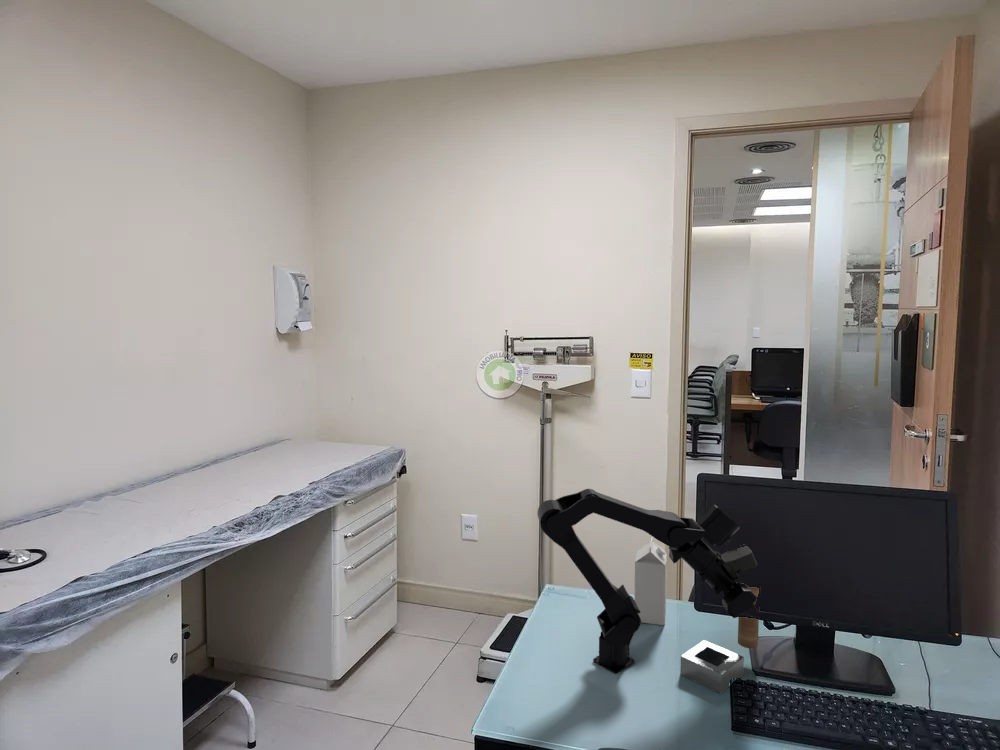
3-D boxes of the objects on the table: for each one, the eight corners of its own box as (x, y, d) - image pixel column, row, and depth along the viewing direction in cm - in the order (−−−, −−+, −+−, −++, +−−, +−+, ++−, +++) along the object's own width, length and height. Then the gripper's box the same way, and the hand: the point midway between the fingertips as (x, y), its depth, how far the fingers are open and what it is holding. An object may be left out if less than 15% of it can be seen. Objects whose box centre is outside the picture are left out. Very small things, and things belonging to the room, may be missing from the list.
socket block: (721, 693, 123) (721, 674, 123) (680, 674, 130) (680, 655, 129) (743, 675, 129) (743, 656, 129) (703, 657, 136) (703, 639, 135)
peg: (752, 650, 131) (754, 591, 130) (734, 643, 134) (736, 584, 133) (761, 643, 134) (763, 585, 132) (743, 636, 137) (745, 578, 135)
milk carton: (634, 622, 151) (634, 545, 149) (636, 608, 158) (637, 535, 156) (664, 626, 149) (666, 549, 147) (665, 612, 156) (667, 538, 154)
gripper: (747, 552, 122) (803, 607, 123) (719, 519, 141) (767, 567, 141) (705, 590, 123) (760, 645, 124) (682, 553, 142) (730, 600, 143)
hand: (755, 611), depth 133 cm, fingers closed on peg, 4 cm apart
